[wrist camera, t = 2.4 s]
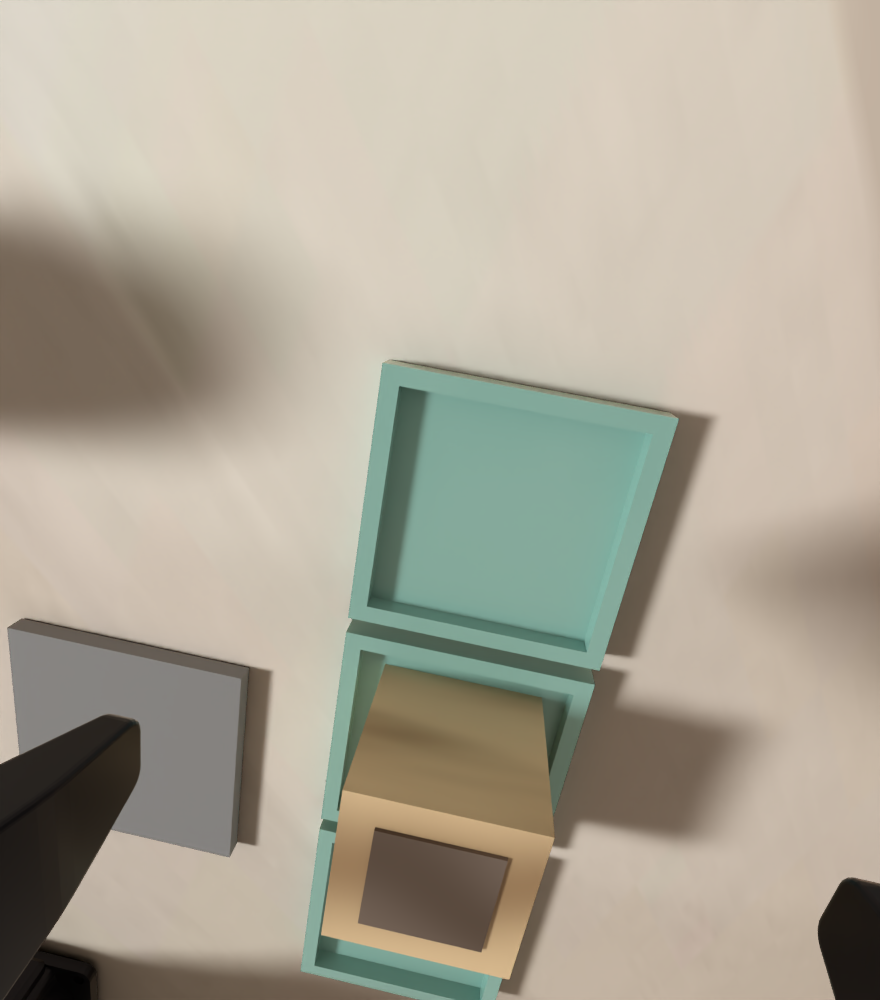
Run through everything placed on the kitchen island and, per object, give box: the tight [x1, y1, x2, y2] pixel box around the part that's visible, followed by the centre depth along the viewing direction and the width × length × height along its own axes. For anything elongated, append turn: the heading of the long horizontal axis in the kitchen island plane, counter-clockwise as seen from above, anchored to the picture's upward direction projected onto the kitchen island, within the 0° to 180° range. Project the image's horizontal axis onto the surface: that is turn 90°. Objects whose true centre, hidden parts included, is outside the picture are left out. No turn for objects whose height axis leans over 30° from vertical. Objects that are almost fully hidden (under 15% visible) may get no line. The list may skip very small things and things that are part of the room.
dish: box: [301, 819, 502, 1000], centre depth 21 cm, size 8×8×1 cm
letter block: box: [321, 664, 555, 980], centre depth 16 cm, size 5×5×5 cm
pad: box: [7, 619, 249, 857], centre depth 20 cm, size 8×8×1 cm
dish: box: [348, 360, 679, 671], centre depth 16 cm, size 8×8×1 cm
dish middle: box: [321, 619, 595, 822], centre depth 19 cm, size 8×8×1 cm
